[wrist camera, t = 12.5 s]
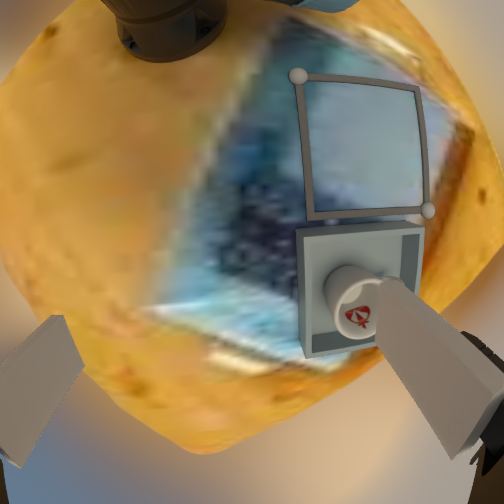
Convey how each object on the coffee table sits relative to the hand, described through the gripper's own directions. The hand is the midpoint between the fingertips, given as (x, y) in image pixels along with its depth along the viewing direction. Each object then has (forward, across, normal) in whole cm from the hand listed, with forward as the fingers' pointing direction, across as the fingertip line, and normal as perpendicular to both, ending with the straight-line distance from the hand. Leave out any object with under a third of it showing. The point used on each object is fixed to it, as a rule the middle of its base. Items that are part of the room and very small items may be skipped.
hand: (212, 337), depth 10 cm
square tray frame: (+26, +19, +8) cm, 34 cm away
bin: (+26, +16, -11) cm, 32 cm away
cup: (+26, +15, -11) cm, 32 cm away
